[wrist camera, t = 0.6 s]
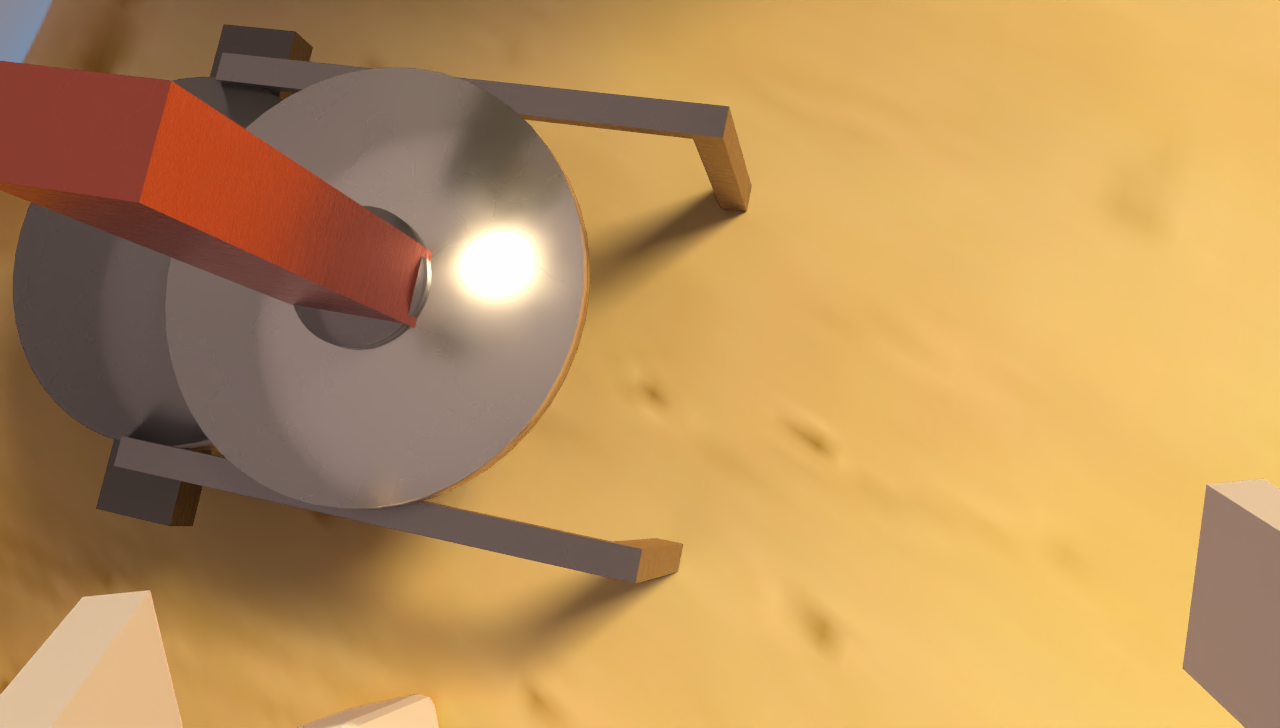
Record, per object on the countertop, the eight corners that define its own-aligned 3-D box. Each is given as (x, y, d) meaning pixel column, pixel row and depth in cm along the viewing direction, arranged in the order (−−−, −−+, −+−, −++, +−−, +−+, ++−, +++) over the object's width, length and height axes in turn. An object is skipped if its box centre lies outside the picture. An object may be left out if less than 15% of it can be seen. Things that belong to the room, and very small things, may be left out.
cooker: (206, 79, 43) (80, -8, 36) (759, 143, 37) (739, 54, 30) (99, 486, 41) (-57, 478, 34) (668, 618, 35) (623, 642, 28)
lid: (240, 59, 34) (-115, -212, 21) (631, 101, 30) (482, -190, 18) (135, 461, 32) (-316, 422, 20) (537, 551, 29) (302, 572, 16)
